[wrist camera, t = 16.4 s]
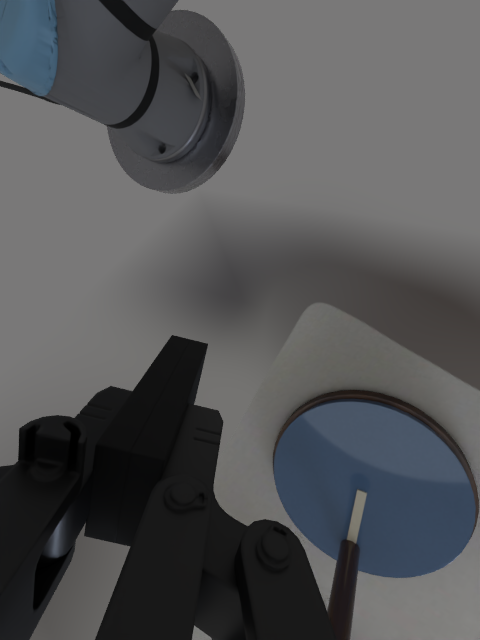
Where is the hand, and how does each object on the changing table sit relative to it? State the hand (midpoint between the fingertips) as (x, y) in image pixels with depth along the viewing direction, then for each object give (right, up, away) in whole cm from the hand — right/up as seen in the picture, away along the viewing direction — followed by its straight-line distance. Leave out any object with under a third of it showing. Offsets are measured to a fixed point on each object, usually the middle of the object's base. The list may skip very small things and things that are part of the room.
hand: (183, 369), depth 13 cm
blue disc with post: (+18, -20, +29) cm, 40 cm away
